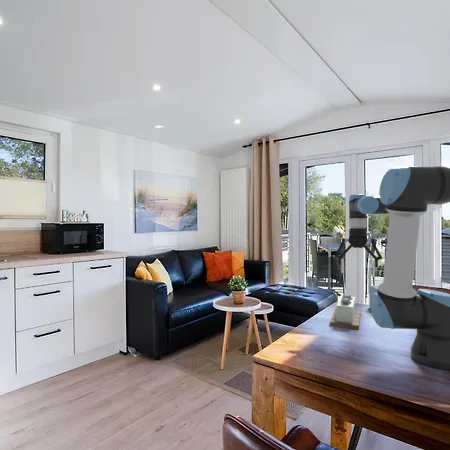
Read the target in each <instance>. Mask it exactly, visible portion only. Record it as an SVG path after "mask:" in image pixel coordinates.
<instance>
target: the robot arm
mask: <svg viewBox="0 0 450 450" xmlns="http://www.w3.org/2000/svg"><path fill="white" fill-rule="evenodd" d="M378 193H379V194H378V195H379V196H373V195H366V194H364V193H353V194H351V195H349V198H348V227H349V230H348V235H349V236H348V238H345V237H343V238H342V239H341V242H340V245H339V247H338V249H337V250H336V252H335V254H334V258H336V259H338V267H339V266H340V273H341V274H343V273H344V258H343V257H344V256H345V255H346V254H347V252H349V251H350V250H351V249H352V248H354V249H357V248H358V249H362V248H364V249H365V250H366V251H367V253H369V254H370V256H371V257H372V258H373V260H372V275H373V276H374V275H375V276H376V268H378V266H379V260H382V259H383V257H382V255H381V253H380V251H379V249H378V247H377V244H376V243H375V239H374V238H373V237H372V238H367V229H368V228H367V227H368V226H367V225H368V222H367V218H368V217H367V215H389V218H388V229H387V240H386V250H385V260H384V269H383V270H384V271H383V280H382V282H381V283H380V284H379V286H378V291H377V293H372V294H371V296H370V300H369V301H370V306H369V308H370V312H371V315H372V318H373V319H374V320H373V321H374V322H375V323H376V325H377V326H378V327H379V328H382V329H391V330H394V329H396V330H398V329H399V330H416V335H415V338H414V340H413V343H412V345H411V347H410V357H411V358H412V359H413V360H414V361H416V362H417V363H420V364H422V365H424V366H427V367H431V368H434V369H438V370H439V369H440V370H445V371H446V370H448V371H449V370H450V293H448V292H444V291H438V290H435V289H429V288H418V289H417V290H415V288H413V282H414V274H415V265H416V257H417V247H418V239H419V231H420V223H421V216H423V215H424V214H425V213H427V212H428V211H427V210H428V206H430V205H437V206H438V205H439V206H440V205H445V204H448V203H450V167H447V166H439V165H437V166H407V165H404V166H395V167H392V168H389V169H388V170H387V171H386V172H385V174H384V175H383V177H382V179H381V181H380V186H379V190H378ZM347 242H348V243H349V245H348V246H347V248H346V249H344V251H343V252H342V253H341V251H342V249H343V247H344V245H345V244H346V243H347ZM367 243H369V244H371V246H372V247H373V250H374V251H375V253H376V255H377V256H376V255H375V253H374V252H373V251H372V250H371V249H370V248H369V247H368V246H367V245H366V244H367ZM340 253H341V254H340Z"/></svg>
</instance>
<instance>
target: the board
mask: <svg viewBox="0 0 450 450" xmlns="http://www.w3.org/2000/svg"><path fill="white" fill-rule="evenodd" d="M342 296H343V298H342V299H341V301H342V302H343V305H348V303H349V302H350V299H349V298H351V297H352V295H351V294H347V293H346V294H343V295H342ZM361 316H362V314H361V311H360V310H355V314H354V319H353V323H350V322H342V321H336V308H335V309H334V312H333V313H332V316H331V319H330V321H329V326H331V327H338V328H346V329H353V330H354V329H355V330H359V329H360V323H361Z"/></svg>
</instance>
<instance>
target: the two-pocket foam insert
mask: <svg viewBox="0 0 450 450" xmlns="http://www.w3.org/2000/svg"><path fill="white" fill-rule="evenodd" d="M342 298H343V295H340V296H339V299H338V301H337V303H336V321H342V322H350V323H353V319H354V314H355V311H356V296H351V298H349V299H350V302H349V303H348V305H343V302H342V301H341V299H342Z"/></svg>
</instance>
